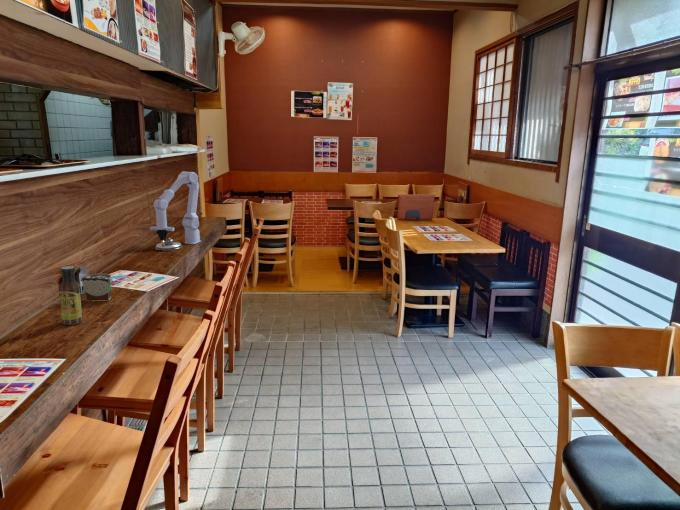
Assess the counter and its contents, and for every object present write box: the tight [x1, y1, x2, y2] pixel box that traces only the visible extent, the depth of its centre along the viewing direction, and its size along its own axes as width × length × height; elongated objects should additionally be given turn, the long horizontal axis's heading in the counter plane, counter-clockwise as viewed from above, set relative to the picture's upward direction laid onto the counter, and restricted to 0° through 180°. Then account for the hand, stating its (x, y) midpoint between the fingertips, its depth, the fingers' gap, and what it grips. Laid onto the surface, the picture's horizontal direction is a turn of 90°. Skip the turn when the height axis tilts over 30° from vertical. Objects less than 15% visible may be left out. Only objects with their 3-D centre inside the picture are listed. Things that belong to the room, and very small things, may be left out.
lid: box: [164, 237, 174, 245], centre depth 282 cm, size 5×5×4 cm
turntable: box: [155, 240, 182, 249], centre depth 282 cm, size 14×14×5 cm
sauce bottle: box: [58, 265, 83, 326], centre depth 163 cm, size 6×6×20 cm
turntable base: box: [154, 244, 183, 252], centre depth 283 cm, size 15×15×1 cm
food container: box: [80, 272, 114, 301], centre depth 190 cm, size 12×6×10 cm, turn 84°
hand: (163, 242), depth 283 cm, fingers closed
